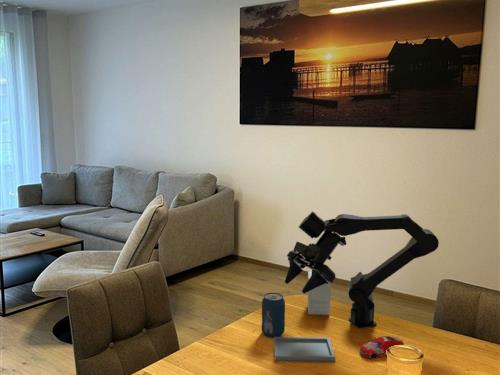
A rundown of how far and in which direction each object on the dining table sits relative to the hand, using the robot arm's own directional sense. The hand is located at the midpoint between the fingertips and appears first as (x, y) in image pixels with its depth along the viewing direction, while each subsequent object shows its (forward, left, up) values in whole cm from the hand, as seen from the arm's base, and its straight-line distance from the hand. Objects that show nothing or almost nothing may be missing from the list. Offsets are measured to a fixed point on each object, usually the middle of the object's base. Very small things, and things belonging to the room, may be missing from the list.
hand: (294, 287), depth 140 cm
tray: (+3, +14, -13) cm, 19 cm away
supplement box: (-14, -10, -13) cm, 22 cm away
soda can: (+7, +1, -13) cm, 15 cm away
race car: (-17, +21, -14) cm, 31 cm away
